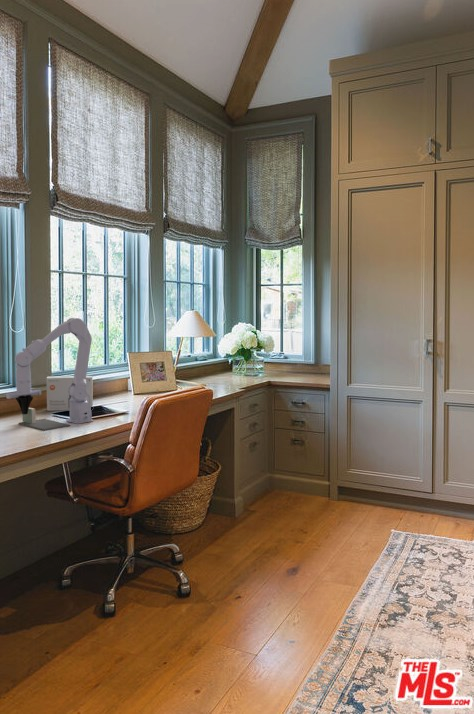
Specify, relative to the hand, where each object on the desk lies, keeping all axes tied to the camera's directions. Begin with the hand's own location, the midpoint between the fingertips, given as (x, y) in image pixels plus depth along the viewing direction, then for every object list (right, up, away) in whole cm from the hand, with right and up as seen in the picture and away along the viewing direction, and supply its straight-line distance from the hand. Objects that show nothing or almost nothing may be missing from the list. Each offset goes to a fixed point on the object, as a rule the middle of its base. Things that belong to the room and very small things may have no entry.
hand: (24, 413), depth 248 cm
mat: (+8, -5, +1) cm, 9 cm away
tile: (0, -4, +4) cm, 6 cm away
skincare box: (+8, -2, +39) cm, 40 cm away
